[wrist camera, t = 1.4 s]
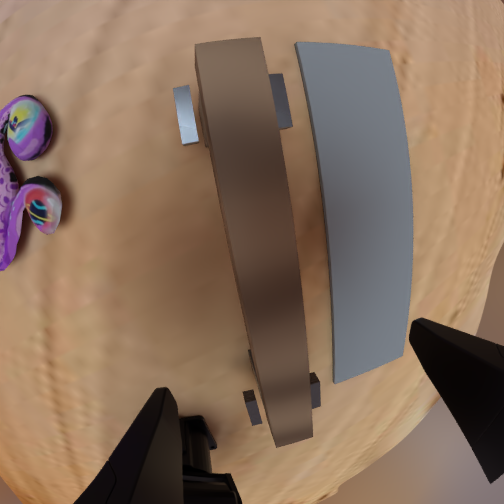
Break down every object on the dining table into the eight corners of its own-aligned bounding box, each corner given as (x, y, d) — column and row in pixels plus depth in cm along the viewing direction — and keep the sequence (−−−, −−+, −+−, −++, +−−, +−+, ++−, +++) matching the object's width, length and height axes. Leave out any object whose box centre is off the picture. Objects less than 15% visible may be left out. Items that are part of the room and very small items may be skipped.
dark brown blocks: (297, 361, 26) (320, 406, 20) (240, 376, 25) (252, 425, 19) (294, 337, 25) (319, 381, 19) (233, 353, 24) (245, 402, 18)
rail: (301, 411, 21) (313, 436, 19) (267, 421, 21) (276, 447, 18) (249, 58, 13) (260, 37, 10) (194, 65, 13) (194, 44, 10)
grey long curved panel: (400, 353, 29) (402, 355, 28) (332, 381, 28) (334, 384, 27) (385, 51, 19) (388, 50, 18) (294, 44, 17) (296, 42, 17)
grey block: (265, 137, 19) (292, 126, 14) (187, 151, 19) (182, 144, 13) (258, 98, 18) (282, 73, 13) (180, 111, 18) (173, 88, 12)
